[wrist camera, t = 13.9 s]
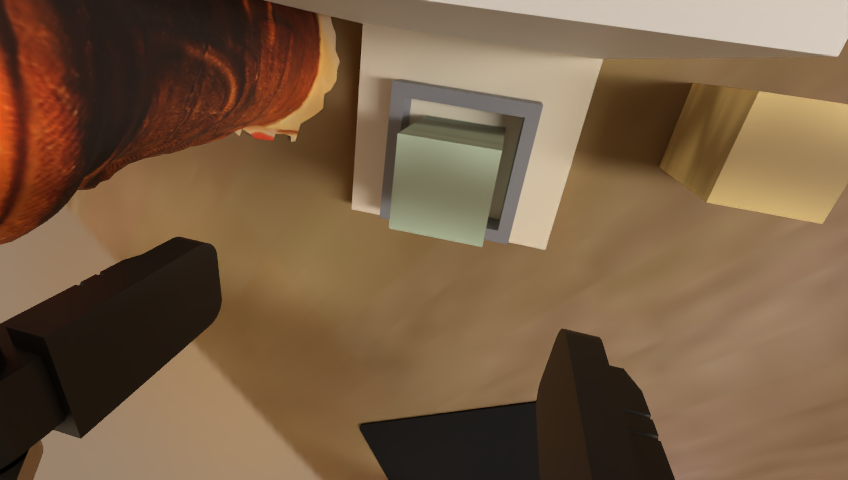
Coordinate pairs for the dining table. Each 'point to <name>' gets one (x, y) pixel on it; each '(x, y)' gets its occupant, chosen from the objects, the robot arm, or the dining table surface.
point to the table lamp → (459, 445)
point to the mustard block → (761, 151)
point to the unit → (538, 76)
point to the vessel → (143, 87)
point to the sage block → (445, 178)
